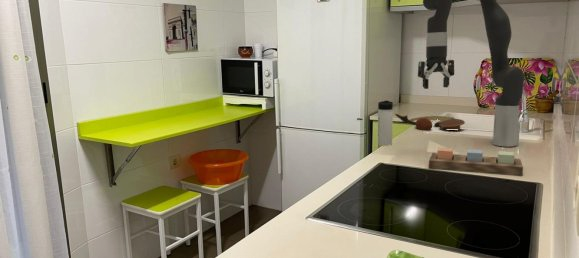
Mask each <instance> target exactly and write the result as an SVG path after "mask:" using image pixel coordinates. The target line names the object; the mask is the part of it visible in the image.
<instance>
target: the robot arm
mask: <svg viewBox="0 0 579 258" xmlns="http://www.w3.org/2000/svg"><path fill="white" fill-rule="evenodd" d="M459 1H460V0H422V5H423V6H424V8H425V9H426V10H429V11H435V13H434V15H433V16H430V17H429V18H428V19H427V22H426V23H427V24H426V25H427V27H426V32H427V33H426V39H425V40H426V41H425V43H426V44H425V45H426V46H425V47H426V48H425V53H426V54H425V58H426V60H425V61H424V60H422V61H418V66H417V78H421V79H422V88H423V89H424V90H428V89H429V83H430V82H429V77H430V76H431V75H432V74H433V73H441V75H442V76H443V79H442V81H443V83H442V84H443V85H442V87H443V88H449V86H450V78H451V77H453V76H455V60H454V59H448V60H447V57H448V34H447V32H448V18H449V16H450V12H451V8H452V5H453V3H457V2H459ZM479 2H480V5H481V10H482V14H483V20H484V26H485V31H486V37H487V42H488V47H489V53H490V61H491V62H490V63H491V73H492V74H491V75H492V81H493V83H494V86H496V87H498V88H500V89H502V91H501V94H500V95H499V96H497V97H495V102H494V119H493V120H494V121H493V134H492V144H493V145H494V146H498V147H516V146H520V145H519V144H520V143H519V142H520V131H521V130H520V128H521V122H519V113H520V112H519V111H520V102H521V99H522V97H523V91H524V83H525V74H524V72H523V69H521V68H520V67H517V66H510V63H509V57H508V51H509V50H508V49H509V47H510V46H509V45H510V44H511V43H510V42H511V39H512V28H511V27H512V26H511V22H510V21H511V20H510V17H509V16H508V14H507V12H506V11H505V10H504V9H503V8H502V6H501V5H500V4H499V3H498V2H497V0H479ZM446 66H447V67H446ZM425 67H426V69H425Z"/></svg>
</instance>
